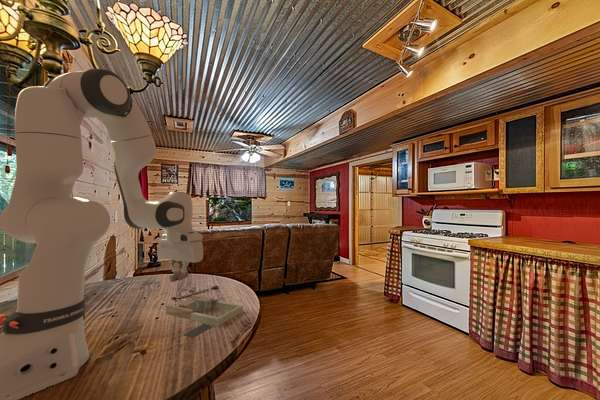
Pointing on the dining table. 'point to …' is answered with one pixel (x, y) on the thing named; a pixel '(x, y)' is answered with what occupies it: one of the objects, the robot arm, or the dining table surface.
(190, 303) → the tan cube
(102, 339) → the dining table surface
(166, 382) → the dining table surface
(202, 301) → the beige cube
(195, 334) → the pad
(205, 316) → the open picture frame
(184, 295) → the claw hammer
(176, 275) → the wooden block with peg
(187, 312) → the slot rails
